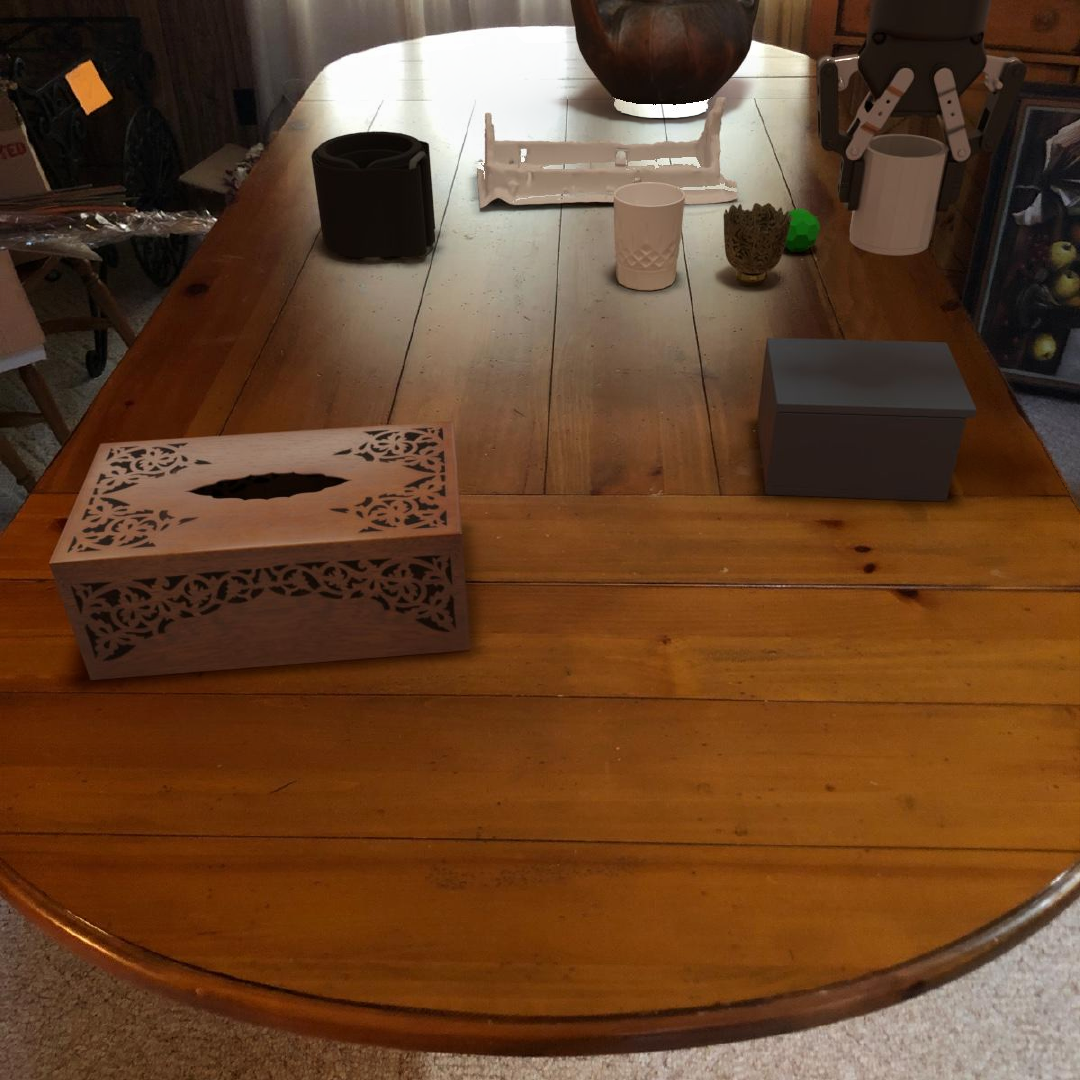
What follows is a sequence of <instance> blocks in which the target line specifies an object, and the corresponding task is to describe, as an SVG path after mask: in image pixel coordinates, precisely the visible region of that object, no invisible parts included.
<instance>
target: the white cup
mask: <svg viewBox="0 0 1080 1080" xmlns="http://www.w3.org/2000/svg"><path fill="white" fill-rule="evenodd" d="M684 203H685V192H684V191H683V190H682V189H680V188H678V187H676V186H673V185H670V184H665V183H657V182H640V183H632V184H628V185H624V186H622V187H619V188H618V189H616V190H615V192H614V202H613V226H614V227H613V229H614V230H613V232H614V255H615V259H616V261H615V269H616V270H615V271H616V272H615V273H616V274H615V276H616V280H617V281H618V284H620V285H621V286H623V287H624V288H628V289H631V290H632V289H633V290H637V291H657V290H662V289H663V290H664V289H665V288H668V287H670V286H672V285H673V283H674V282H675V280H676V277H677V266H678V259H679V254H680V246H681V240H682V232H683V231H682V230H683V221H684V212H685V211H684V210H685V204H684Z"/></svg>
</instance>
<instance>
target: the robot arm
mask: <svg viewBox="0 0 1080 1080" xmlns="http://www.w3.org/2000/svg"><path fill="white" fill-rule="evenodd" d="M992 1H993V0H872V1H871V8H870V15H869V21H868V27H867V32H866V36H865V39H864V41H863V43H862V45H861V46H860V47H859V49H858V51H857V53H854V54H847V55H841V56H840V55H839V56H835V57H833V56H832V55H830V54H828V53H824V54H821V55H820V56H819V57H818V58H817V60H816V62H815V64H816V65H815V73H816V75H815V76H816V119H817V120H816V121H817V123H816V124H817V137H818V139H819V141H820V145H821V147H822V149H823V150H824V151H826V152H833V153H837V154H839V155H840V164H839V170H838V178H837V184H836V192H837V196H838V199H839V202H840V203H843V205H844V208H845V211H847V212H852V211H856V210H857V207H858V201H859V195H860V189H861V182H862V176H863V170H864V163H865V161H864V159H863V157H862V154H863V153H864V151H865V150H866V148H867V146H868V145H869V143H870V142H871V140H872V139H873V137H875V136H876V134H878V133H879V132H880V131H881V130H882V128H883V127H884V125H885V123H886V122H887V120H888V118H889V117H890V118H904V117H909V116H913V115H914V116H918V117H922V118H927V119H928V118H929V119H930V118H933V119H937V120H938V123H939V126H940V128H941V133H942V137H943V140H944V144H946V146H947V147H948V149H949V151H948V156H947V161H946V166H945V171H944V176H943V181H942V186H941V191H940V196H939V201H938V206H937V211H936V213H947V212H948V211H949V207H950V205H955V204H957V201H958V200H959V198H960V196H961V191H962V186H963V181H964V177H965V173H966V167H967V163H968V161H969V160H970V158H972V157H973V156H975V155H978V154H981V153H992V152H994V151H996V150H997V149H998V147H999V145H1000V142H1001V141H1002V138H1003V135H1004V132H1005V130H1006V128H1007V125H1008V122H1009V119H1010V116H1011V115H1012V112H1013V109H1014V107H1015V105H1016V102H1017V98H1018V96H1019V93H1020V90H1021V89H1022V86H1023V83H1024V80H1025V78H1026V75H1027V72H1028V70H1027V67H1026V65H1025V64H1024V63H1023V62H1022V61H1021V60H1020V59H1019V58H1018V57H1017V56H1016V55H1014V54H1006V55H1004V56H1003V57H1001V56H995V55H991V54H987V52H986V49H985V44H984V39H985V34H986V29H987V25H988V20H989V15H990V10H991V7H992V6H991V5H992ZM857 72H859V75H860V76H861V78H862V80H863V82H864V83H865V86H866V88H867V89H868V90H869V91H868V92H867V94H866V96H865V97H864V99H863V100H862V102H861V104H860V106H859V107H858V109H857V111H856V115H855V117H854V119H853V121H852V122H851V123H850V126H849V127H848V128H847V130H846V131H844V130H843V129H840V126H839V125H840V120H839V118H840V117H839V116H840V112H839V111H840V110H839V107H840V105H839V92H842V91H845V90H846V89H847V87H848V86H849V83H850V78H851V77H852V75H853V74H854V73H857ZM982 73H984V75H985V77H984V78H985V79H984V85H985V87H986V89H988V93H987V95H986V99H985V100H984V104H983V106H982V109H981V112H980V115H979V117H978V120H977V123H976V126H975V128H974V130H970V131H968V132H967V130H966V122H965V118H964V113H963V109H962V106H961V103H960V99H959V98H960V97H961V96H962V95H963V94H964V92H966V91H967V90H968V89H969V87H970V86H971V85H972V84H973V83H974V82H975V81H976V80H977V79H978V78H979V77H980V75H981V74H982Z"/></svg>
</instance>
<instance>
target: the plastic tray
mask: <svg viewBox="0 0 1080 1080" xmlns="http://www.w3.org/2000/svg"><path fill="white" fill-rule="evenodd" d="M726 98H727V97H726V96H719V97H716V98H715V103H714V107H713V108H712V109H711V110H710V111H709V112H708V114H707V117H706V119H705V122H704V128H703V131H702V132H701V134H700V136H699V138H698V139H695V140H690V141H677V142H676V141H672V140H671V141H670V140H664V141H657V142H654V143H651V144H650V143H633V144H623V143H620V142H615V141H600V140H594V141H586V142H580V141H576V142H575V141H550V140H546V141H545V140H496V136H495V126H494V124H493V121H492V113H491V112H485V114H484V124H485V128H484V160H483V159H479V160H478V161H477V162H483V161H485V163H484V165H482V163H481V165H482V166H483V167H484V171H485V179H484V174H483V173H484V171H483V170H481V169H478V168H477V167H476V170H477V173H476V174H477V180H476V182H477V189H478V198H479V199H478V202H479V204H478V205H479V209H482V208H484V207H486V206H487V205H490V204H491V202H493V201H495V200H497V199H500V200H502V201H504V202H505V203H507V204H510V205H513V206H524V205H544V204H564V203H565V204H567V203H571V204H572V203H595V202H596V203H597V202H598V203H614V194H594V195H586V196H581V197H578V198H568V197H565V196H545V195H556V194H570V196H571V195H577V194H578V193H585V192H586V193H589V192H593V193H594V192H608V193H609V192H615V190H616V189H618V188H619V187H622V186H624V185H628V184H632V183H640V182H657V183H665V184H670V185H673V186H676V187H679V188H683V187H703V186H705V187H707V186H716V185H720V183H721V184H724V183H725V186H727V187H729V188H732V187H733V188H737V187H738V183H737V182H736V180H733V181H732V180H730V179H726V178H725V176H724V175H723V174H722V173H721V165H720V159H721V158H720V157H721V156H720V155H721V139H720V137H721V136H720V135H721V134H720V133H721V131H722V129H721V128H722V117H723V114H724V109H725V104H726ZM522 150H526V155H522ZM618 152H624V154H625V157H619V156H618V157H616V156H617V154H618ZM521 156H522V157H523V156H524V158H525V161H524V162H521ZM682 157H696V158H697V160H698V162H699V164H700V166H701V167H699V168H697V166H694V165H693V164H691V165H688V164H685V165H683V164H673V165H663V166H662V165H659V164H658V166H659V168H656V169H655V166H654V165H647V166H628V162H630V161H641V160H655V159H656V160H655V161H656V162H657V159H660V158H682ZM626 160H627V165H626ZM607 162H615V167H607V168H595V165H593V164H592V163H607ZM577 163H590V168H589V169H582V168H576V169H544V168H543V167H546V166H549V165H564V164H577ZM626 168H627V169H629V170H626ZM633 168H635V169H633ZM635 178H636V179H635ZM737 189H738V188H737ZM683 191H684V192H685V203H684V205H706V204H707V205H708V204H715V203H716V204H717V203H725V202H730V201H733V200H737V199H739V194H738V193H739V191H738V192H734V191H728V190H725V189H705V190H683ZM531 196H545V197H532V198H528V197H531ZM606 196H607V198H605V197H606ZM518 198H527V199H520V200H517V201H516V199H518ZM558 198H564V199H560V200H557V199H558ZM582 198H585V199H582ZM513 201H514V202H513Z"/></svg>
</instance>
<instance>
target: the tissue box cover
mask: <svg viewBox="0 0 1080 1080" xmlns="http://www.w3.org/2000/svg"><path fill="white" fill-rule="evenodd" d="M455 431H456V430H455V420H443V421H441V420H440V421H427V422H425V421H424V422H411V423H395V424H379V425H378V424H377V425H364V426H350V427H349V426H348V427H336V428H335V427H333V428H332V427H331V428H322V429H321V428H320V429H319V428H318V429H303V430H302V429H301V430H287V431H286V430H285V431H273V432H271V431H269V432H255V433H240V434H226V435H212V436H210V435H208V436H196V437H180V438H166V439H165V438H162V439H151V440H150V439H149V440H148V439H147V440H132V441H119V442H116V441H115V442H103V443H99V446H98V448H97V451H96V453H95V456H94V457H93V460H92V462H91V465H90V467H89V469H88V471H87V474H86V476H85V479H84V482H83V483H82V485H81V487H80V490H79V493H78V495H77V497H76V500H75V502H74V504H73V507H72V509H71V511H70V513H69V516H68V518H67V521H66V523H65V525H64V527H63V530H62V532H61V535H60V536H59V539H58V541H57V544H56V546H55V549H54V550H53V553H52V555H51V558H50V560H49V562H48V565H49V567H50V571H51V573H52V576H53V579H54V582H55V584H56V587H57V590H58V592H59V595H60V598H61V601H62V604H63V607H64V609H65V612H66V615H67V618H68V620H69V624H70V626H71V629H72V632H73V634H74V637H75V640H76V643H77V646H78V648H79V651H80V654H81V657H82V660H83V663H84V665H85V668H86V671H87V673H88V676H89V680H90V681H96V680H99V681H100V680H111V679H122V678H135V677H148V676H158V675H159V676H160V675H161V676H162V675H171V674H172V675H173V674H186V673H199V672H210V671H223V670H236V669H247V668H248V669H249V668H260V667H273V666H274V667H275V666H287V665H288V666H289V665H299V664H311V663H313V664H314V663H323V662H325V663H327V662H336V661H337V662H339V661H348V660H349V661H350V660H351V661H352V660H361V659H373V658H387V657H401V656H411V655H413V656H414V655H425V654H426V655H427V654H437V653H450V652H451V653H453V652H462V651H463V652H464V651H471V641H470V626H469V625H470V624H469V613H468V597H467V584H466V568H465V557H464V543H463V541H464V540H463V529H462V514H461V501H460V489H459V488H460V487H459V485H460V484H459V473H458V460H457V459H458V458H457V446H456V445H457V444H456V433H455Z"/></svg>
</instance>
